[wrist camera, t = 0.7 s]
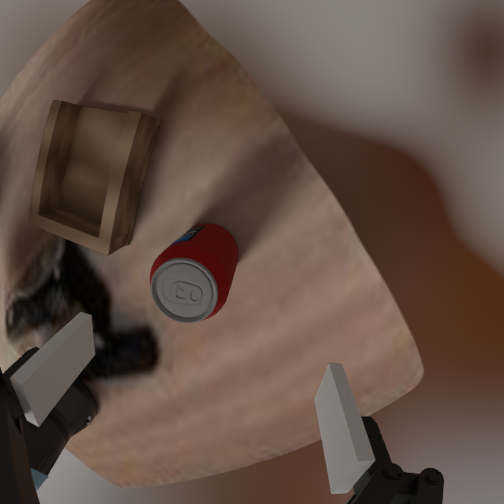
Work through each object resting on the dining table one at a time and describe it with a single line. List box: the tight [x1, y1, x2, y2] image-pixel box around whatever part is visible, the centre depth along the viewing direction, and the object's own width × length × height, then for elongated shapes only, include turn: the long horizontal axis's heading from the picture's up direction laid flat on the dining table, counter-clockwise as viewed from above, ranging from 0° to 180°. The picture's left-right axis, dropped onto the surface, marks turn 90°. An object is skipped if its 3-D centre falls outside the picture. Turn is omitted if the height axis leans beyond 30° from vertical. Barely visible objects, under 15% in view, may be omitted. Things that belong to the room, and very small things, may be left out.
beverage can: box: [150, 224, 238, 323], centre depth 28 cm, size 7×7×12 cm
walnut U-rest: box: [29, 100, 161, 255], centre depth 29 cm, size 15×13×5 cm
